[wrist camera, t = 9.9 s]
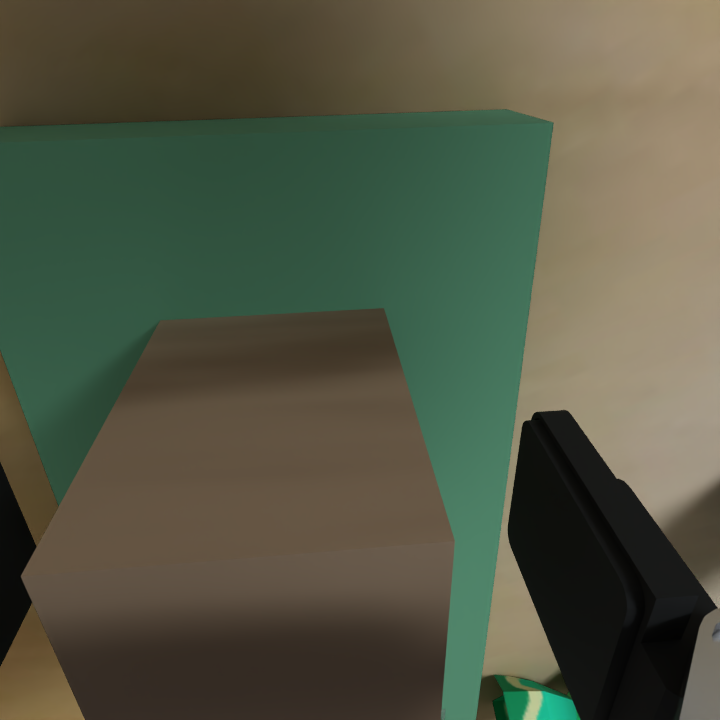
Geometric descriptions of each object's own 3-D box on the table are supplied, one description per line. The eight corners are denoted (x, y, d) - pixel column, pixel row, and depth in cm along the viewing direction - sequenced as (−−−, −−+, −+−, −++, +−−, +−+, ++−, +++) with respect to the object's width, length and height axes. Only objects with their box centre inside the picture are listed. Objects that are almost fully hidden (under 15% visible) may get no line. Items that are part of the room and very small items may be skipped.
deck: (0, 127, 13) (-178, 170, 8) (506, 109, 14) (613, 138, 9) (189, 743, 26) (162, 903, 21) (450, 716, 26) (483, 865, 22)
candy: (496, 738, 26) (523, 797, 22) (485, 661, 26) (511, 705, 22) (746, 702, 27) (819, 754, 23) (733, 627, 27) (802, 664, 23)
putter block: (160, 320, 13) (20, 576, 6) (384, 308, 13) (454, 541, 7) (202, 520, 15) (134, 829, 9) (384, 506, 16) (434, 796, 10)
